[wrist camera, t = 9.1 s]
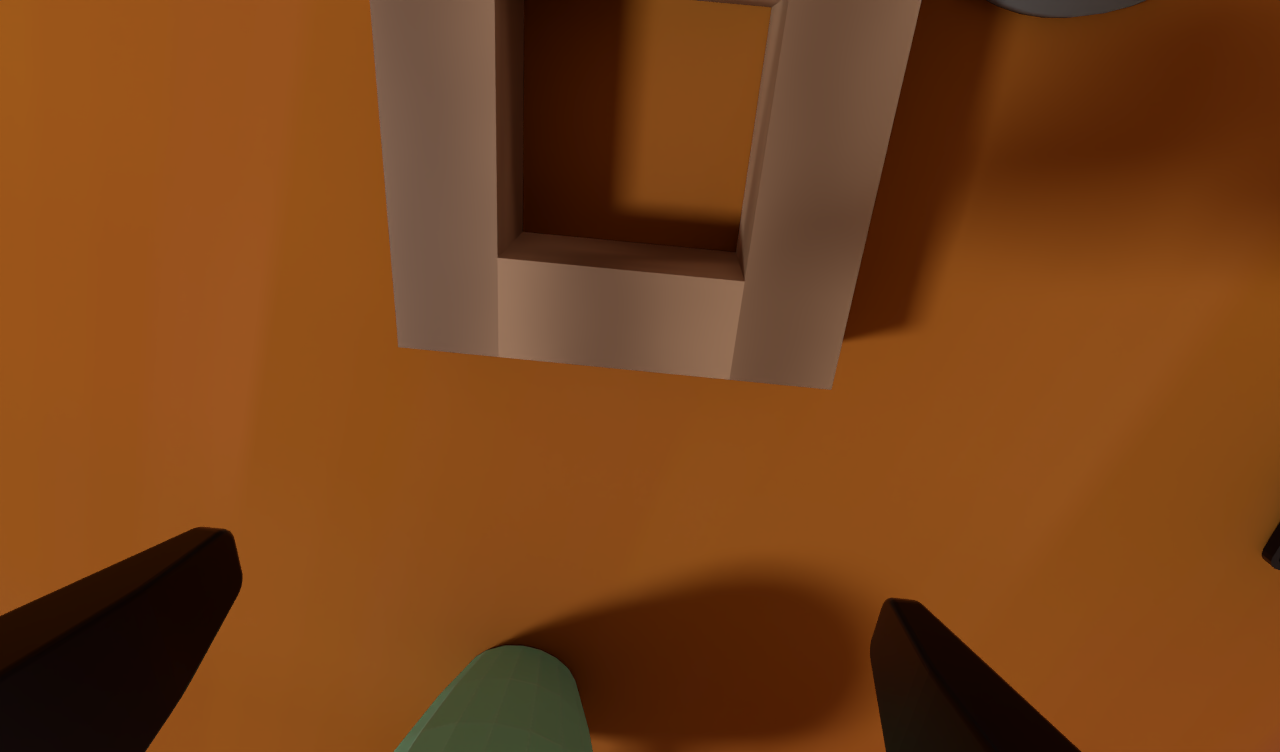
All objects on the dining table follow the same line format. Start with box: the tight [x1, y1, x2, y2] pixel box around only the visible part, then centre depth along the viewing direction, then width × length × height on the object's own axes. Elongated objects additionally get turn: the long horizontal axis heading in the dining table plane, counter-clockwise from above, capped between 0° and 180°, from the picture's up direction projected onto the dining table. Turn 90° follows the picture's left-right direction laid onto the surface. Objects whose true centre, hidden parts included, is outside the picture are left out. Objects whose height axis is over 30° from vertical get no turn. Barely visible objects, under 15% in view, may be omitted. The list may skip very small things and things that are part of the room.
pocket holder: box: [370, 0, 922, 390], centre depth 17 cm, size 12×12×3 cm
